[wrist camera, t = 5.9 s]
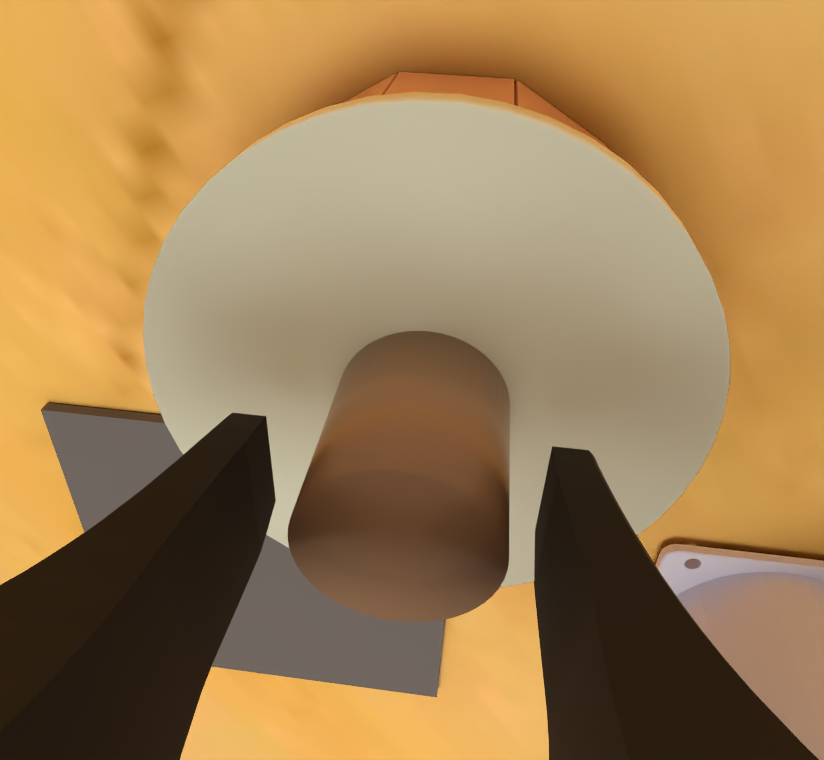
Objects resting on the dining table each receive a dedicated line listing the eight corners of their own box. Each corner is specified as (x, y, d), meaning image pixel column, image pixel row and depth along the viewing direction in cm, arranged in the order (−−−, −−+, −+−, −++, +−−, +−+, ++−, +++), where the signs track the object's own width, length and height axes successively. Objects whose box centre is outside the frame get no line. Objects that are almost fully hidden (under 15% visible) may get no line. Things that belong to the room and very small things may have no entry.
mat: (462, 447, 22) (462, 455, 21) (437, 688, 30) (436, 697, 29) (47, 402, 23) (40, 409, 22) (132, 647, 31) (128, 655, 30)
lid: (826, 136, 11) (997, 261, 7) (629, 596, 18) (661, 786, 14) (115, 54, 12) (-85, 128, 8) (191, 529, 19) (105, 694, 15)
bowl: (681, 89, 15) (736, 148, 11) (595, 436, 21) (612, 549, 17) (243, 61, 16) (161, 108, 12) (277, 403, 22) (229, 504, 18)
